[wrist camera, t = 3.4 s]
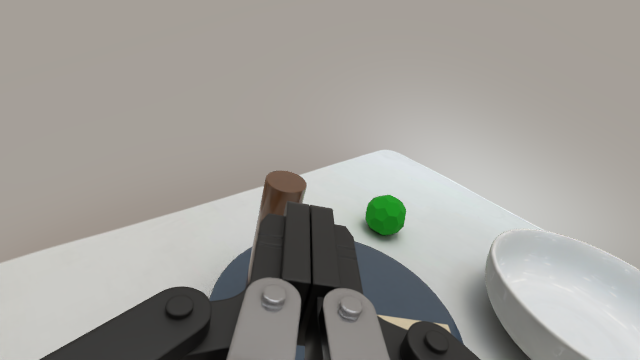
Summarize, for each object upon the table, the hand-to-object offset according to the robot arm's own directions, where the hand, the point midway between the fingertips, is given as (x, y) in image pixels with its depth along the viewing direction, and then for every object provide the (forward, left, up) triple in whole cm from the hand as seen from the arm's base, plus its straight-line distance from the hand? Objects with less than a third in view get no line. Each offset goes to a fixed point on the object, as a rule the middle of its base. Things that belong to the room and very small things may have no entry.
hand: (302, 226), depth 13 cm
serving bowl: (+34, 0, -19) cm, 39 cm away
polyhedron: (+24, +20, -19) cm, 37 cm away
